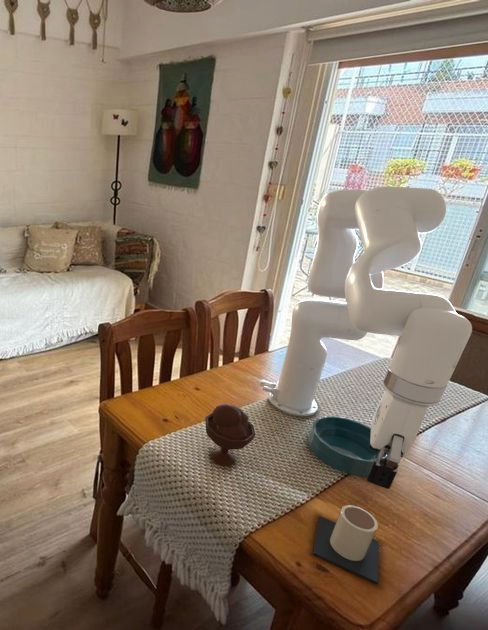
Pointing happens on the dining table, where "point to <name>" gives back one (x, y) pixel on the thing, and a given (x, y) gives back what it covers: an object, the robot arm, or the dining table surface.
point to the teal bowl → (343, 445)
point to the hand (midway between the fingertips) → (378, 466)
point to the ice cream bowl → (228, 432)
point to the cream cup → (353, 532)
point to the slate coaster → (325, 551)
